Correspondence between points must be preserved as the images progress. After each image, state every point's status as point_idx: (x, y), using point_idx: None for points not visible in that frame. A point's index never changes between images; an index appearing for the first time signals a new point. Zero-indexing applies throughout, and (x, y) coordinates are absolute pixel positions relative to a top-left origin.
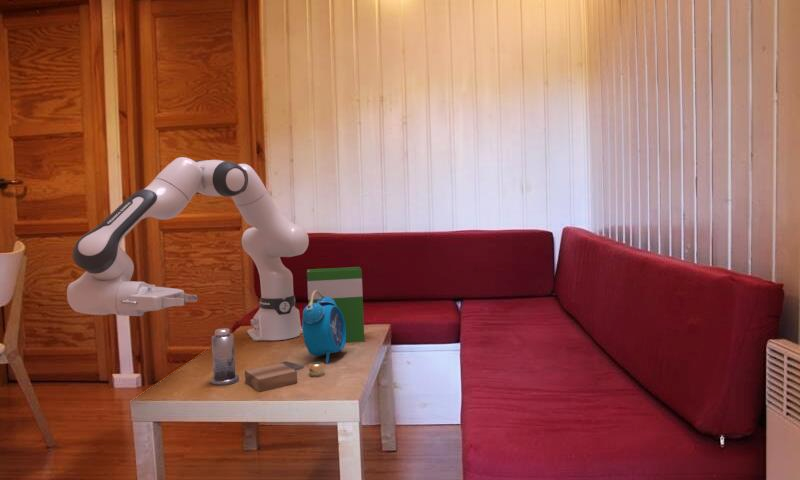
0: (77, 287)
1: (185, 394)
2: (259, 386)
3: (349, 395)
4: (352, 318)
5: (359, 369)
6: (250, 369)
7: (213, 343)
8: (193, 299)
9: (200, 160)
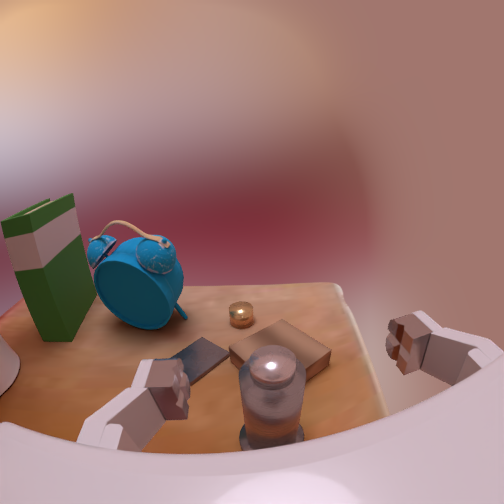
0: None
1: None
2: (329, 358)
3: (322, 286)
4: (82, 270)
5: (225, 290)
6: None
7: (300, 397)
8: (182, 382)
9: None
